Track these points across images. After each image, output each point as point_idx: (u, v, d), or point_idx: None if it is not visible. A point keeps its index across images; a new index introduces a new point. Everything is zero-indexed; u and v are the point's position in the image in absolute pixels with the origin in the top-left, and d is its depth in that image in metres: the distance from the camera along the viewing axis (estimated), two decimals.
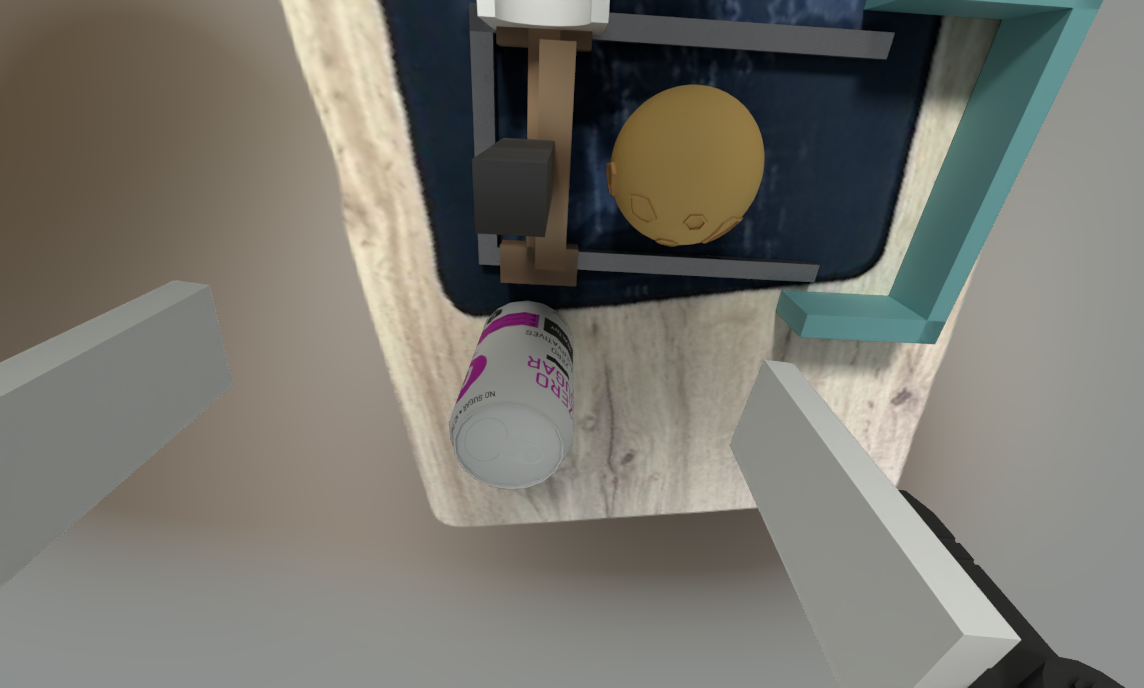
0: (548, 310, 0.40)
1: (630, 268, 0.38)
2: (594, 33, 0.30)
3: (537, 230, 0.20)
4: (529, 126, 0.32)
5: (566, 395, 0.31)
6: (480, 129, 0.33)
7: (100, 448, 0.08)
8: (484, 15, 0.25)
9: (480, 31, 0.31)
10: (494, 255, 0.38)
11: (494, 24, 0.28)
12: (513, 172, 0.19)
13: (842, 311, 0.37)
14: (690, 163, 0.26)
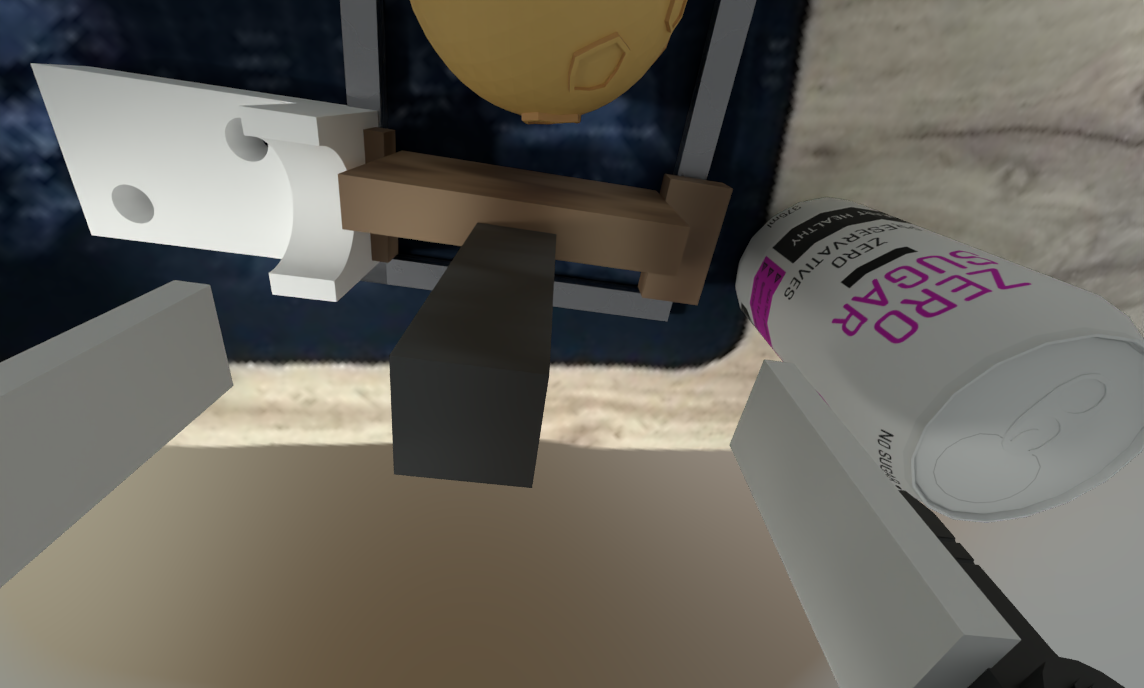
0: (763, 235, 0.24)
1: (727, 78, 0.21)
2: (371, 123, 0.21)
3: (532, 387, 0.09)
4: None
5: (953, 278, 0.15)
6: None
7: (99, 448, 0.08)
8: (334, 293, 0.19)
9: (386, 272, 0.25)
10: None
11: (365, 265, 0.22)
12: (412, 415, 0.09)
13: None
14: None
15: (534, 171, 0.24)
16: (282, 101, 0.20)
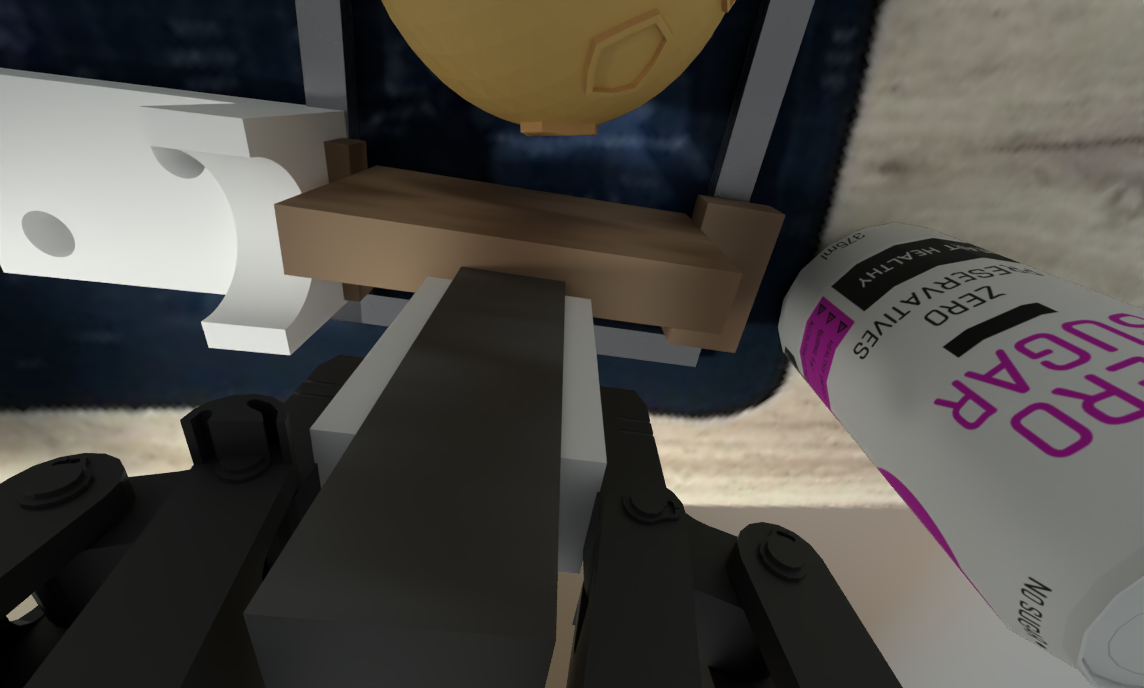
0: (816, 268, 0.20)
1: (781, 76, 0.17)
2: (335, 127, 0.17)
3: (523, 658, 0.05)
4: None
5: (1136, 362, 0.10)
6: None
7: None
8: (287, 344, 0.15)
9: (361, 309, 0.21)
10: None
11: (334, 302, 0.18)
12: None
13: None
14: None
15: None
16: (218, 101, 0.15)
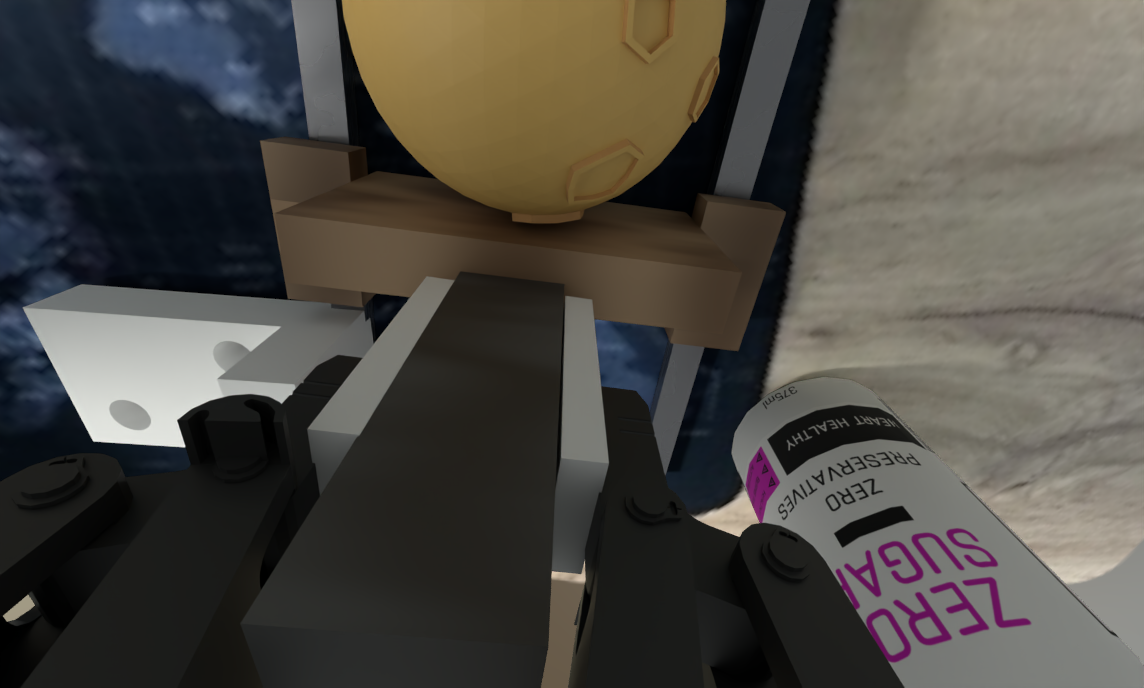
0: (758, 415, 0.24)
1: None
2: (358, 328, 0.21)
3: (516, 665, 0.05)
4: None
5: (949, 587, 0.14)
6: None
7: None
8: None
9: None
10: None
11: None
12: None
13: None
14: (471, 54, 0.09)
15: None
16: (267, 325, 0.20)
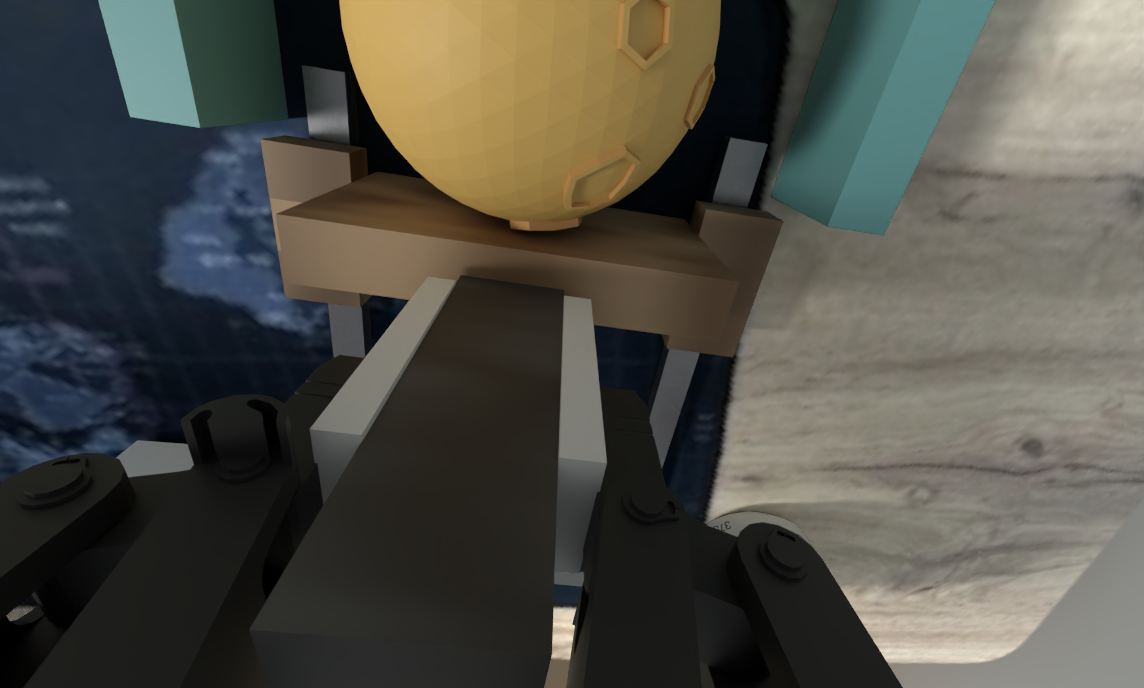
0: None
1: (662, 449, 0.25)
2: None
3: (520, 671, 0.05)
4: None
5: None
6: None
7: None
8: None
9: None
10: None
11: None
12: None
13: (853, 117, 0.15)
14: (468, 61, 0.09)
15: None
16: None
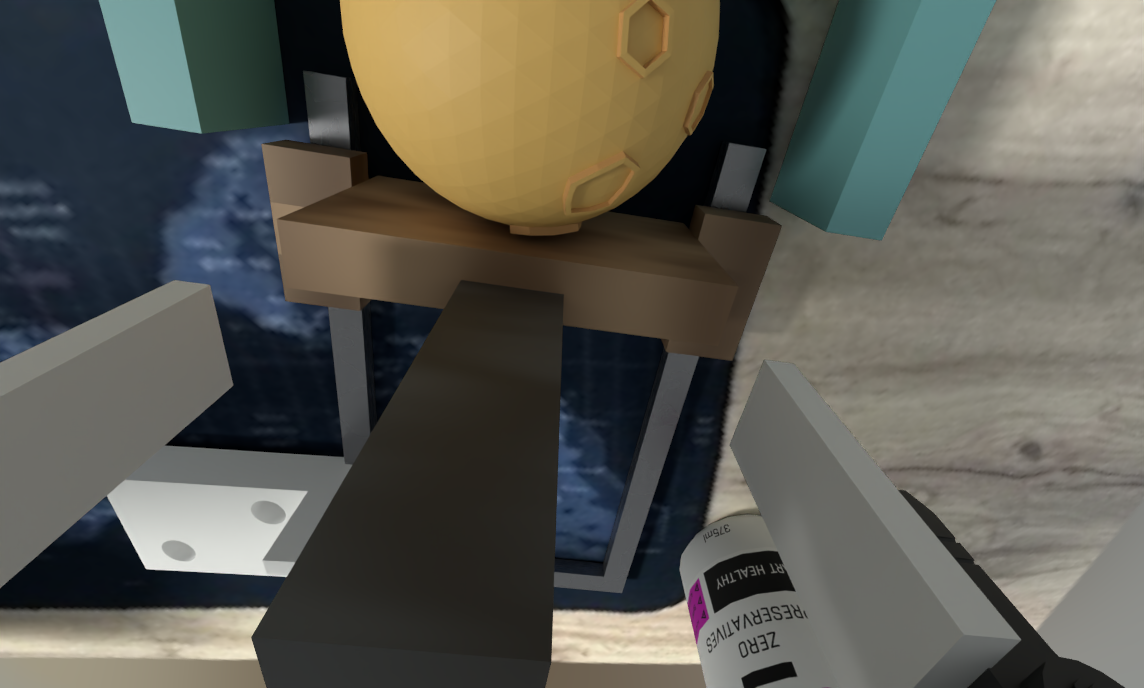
0: (699, 546, 0.28)
1: (661, 452, 0.25)
2: None
3: (519, 679, 0.05)
4: None
5: None
6: None
7: (100, 448, 0.08)
8: None
9: None
10: (613, 579, 0.31)
11: None
12: None
13: (851, 123, 0.15)
14: (468, 69, 0.09)
15: None
16: (296, 489, 0.24)
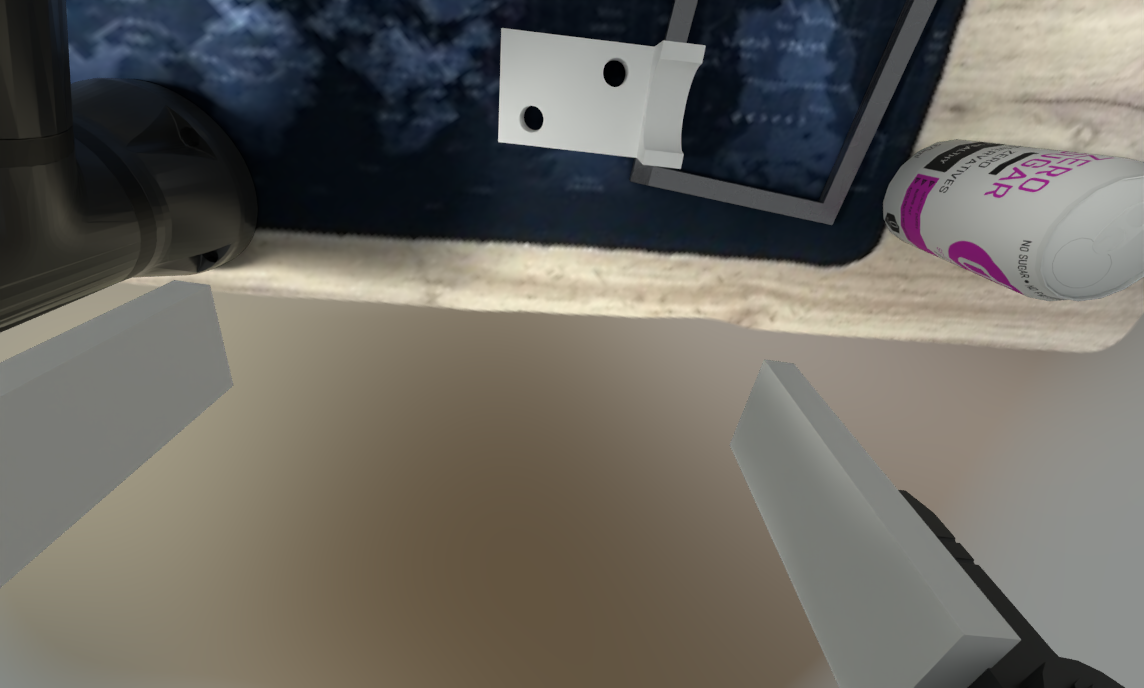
0: (912, 162, 0.36)
1: (907, 53, 0.33)
2: None
3: None
4: None
5: (1067, 159, 0.26)
6: (719, 194, 0.38)
7: (100, 448, 0.08)
8: (681, 163, 0.31)
9: (650, 176, 0.37)
10: (830, 208, 0.38)
11: None
12: None
13: None
14: None
15: None
16: (644, 46, 0.32)
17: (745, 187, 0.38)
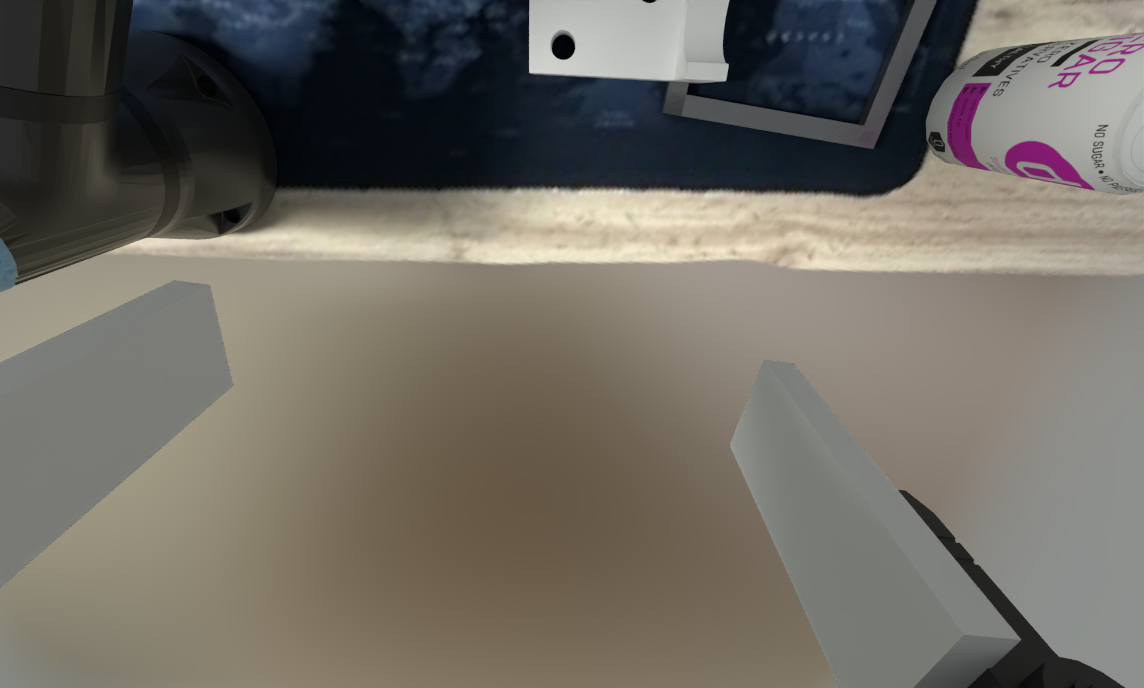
0: (957, 74, 0.35)
1: None
2: None
3: None
4: None
5: (1142, 36, 0.25)
6: (755, 121, 0.37)
7: (100, 448, 0.08)
8: (726, 74, 0.30)
9: (683, 106, 0.36)
10: (870, 130, 0.37)
11: None
12: None
13: None
14: None
15: None
16: None
17: (782, 112, 0.36)
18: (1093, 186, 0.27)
